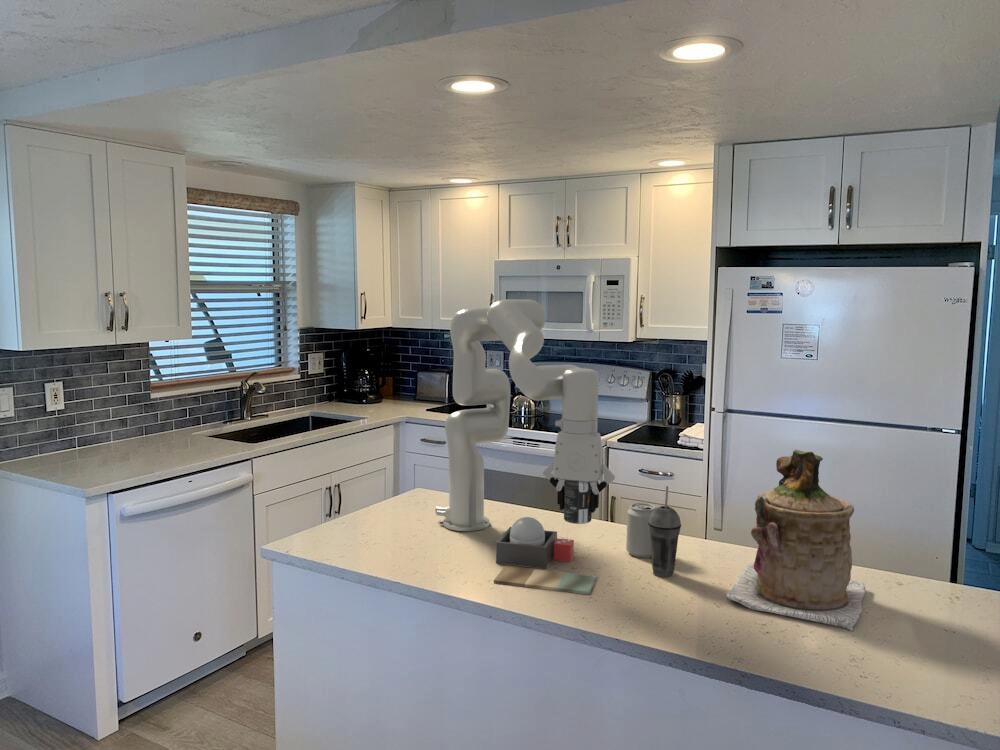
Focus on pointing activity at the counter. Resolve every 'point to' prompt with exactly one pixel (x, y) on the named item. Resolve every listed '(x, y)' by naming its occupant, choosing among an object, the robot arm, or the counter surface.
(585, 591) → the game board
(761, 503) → the cookie jar
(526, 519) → the dome
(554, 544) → the box
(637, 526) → the can
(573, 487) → the pill bottle
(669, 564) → the beverage cup
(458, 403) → the robot arm
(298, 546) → the counter surface
